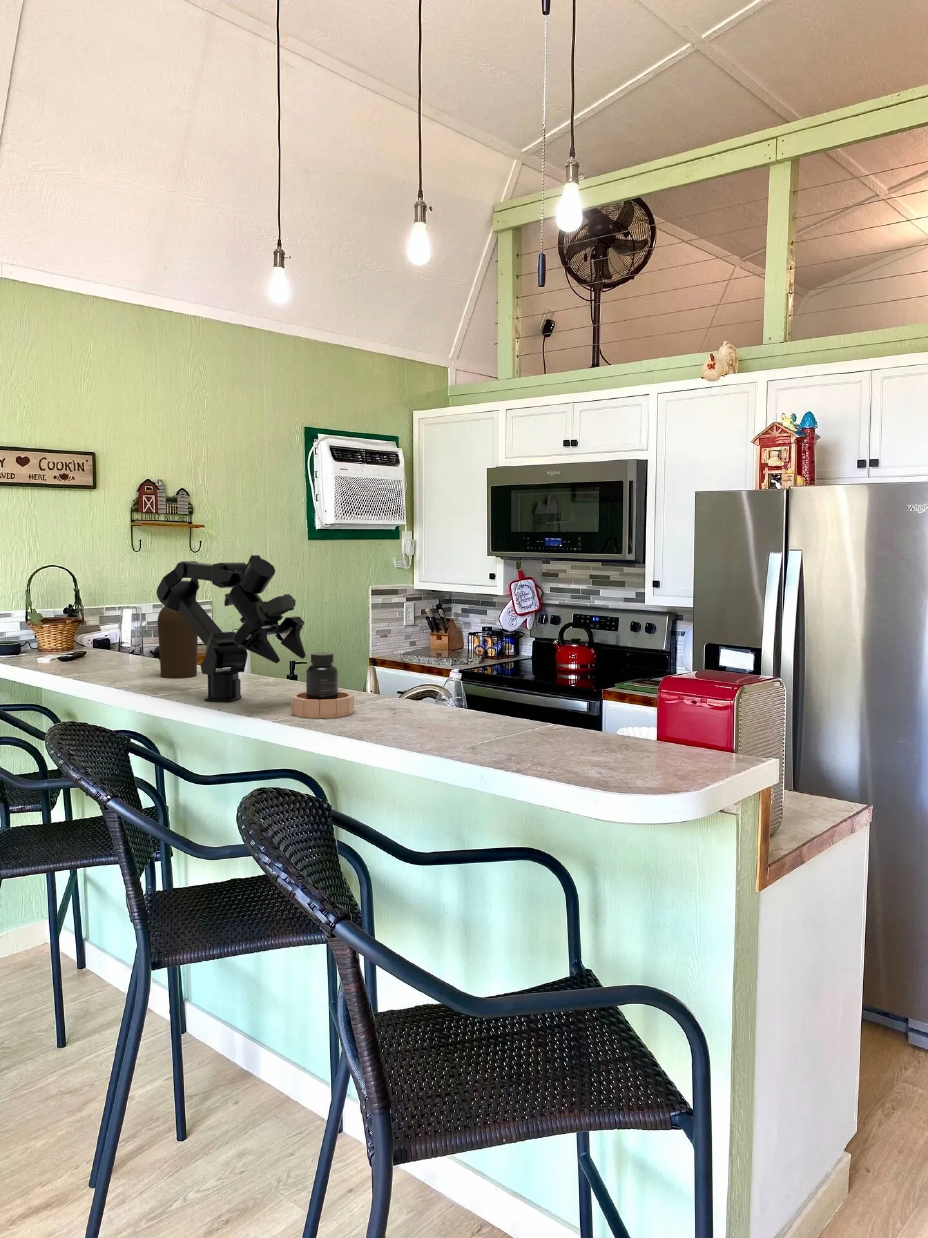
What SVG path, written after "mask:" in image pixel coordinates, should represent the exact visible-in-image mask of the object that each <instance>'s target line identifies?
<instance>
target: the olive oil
mask: <svg viewBox="0 0 928 1238" xmlns="http://www.w3.org/2000/svg"><path fill="white" fill-rule="evenodd" d="M157 633H158V634H157V635H158V648H159V649H158V650H159V655H158V662H159V665H160V666H159V668H160V669H159V670H160V677H162V678H164V679H166V678H167V679H184V678H194V677H196V676H197V673H198V670H197V669H198V643H199V642H198V640H199V639H198V638H199V637H198V635H197V634H196V633H195V632H194V630H193V629H192V628H191V627H190V625H189V624H188V623H187V622H186V621H185V619H184V618H183V617H182V616H181V614H180V613H179V612H176V611H174V610H171V609H168V608H167V607H165V606H164V605H163V607H162V608H161V609H160V611H159V613H158V616H157Z"/></svg>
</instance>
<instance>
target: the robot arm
mask: <svg viewBox="0 0 928 1238" xmlns="http://www.w3.org/2000/svg"><path fill="white" fill-rule="evenodd" d="M275 574H276V569H275V567H274V565H273V564H271V562H269V561H268V560H265V559H264V558H261V555H258V554H257V555H256V554H255V555H252V554H251V556H250V557H249V559H248V562H247V563H246V562H217V563H213V564H212V563H204V562H197V561H195V560H193V561H192V560H191V561H188V560H187V561H186V560H185V561H180V562H178V563H177V564H176V565H175V567H174V569H173V570H171V571H170V572H167V574H166V575H164V576H163V578H162V579H161V581H160V583H159V585H158V586H157V588H156V596H157V599H158V601H159V602H160V603H161V605H163V607H164V606H165V607H167V608H168V609H171V610H174V611H176V612H179V613H180V614H181V616H182V617H183V618H184V619H185V621H186V622H187V623H188V624H189V625H190V627H191V628H192V629H193V630H194V632H195V633H196V634H197V635H198V638H199V639H200V641H202V643H203V644H204V645H205V648H206V649H205V656H204V658H203V660H202V662H201V663H200V669H201V674H203V675H207V697H204V701H208V702H209V701H210V702H211V701H212V702H233V701H236V700H238V699H241V698H243V695H242V693H241V692H242V691H241V685H242V684H241V683H242V682H241V679H240V677H239V676H240V675H239V673H245V669H246V664H247V660H248V657H249V656H248V651H250V652H251V653H254V654H256V655H258V656H259V657H262V658H264V659H266V660H268V661H271V662H272V663H275V664H278V663H280V661H281V659H280V657H279V656H278V654H277V652H276V650H275V648H274V647H273V646H272V644H271V643H270V641H269V639H268V637H270V636H275V637H276V638H277V640H278V641H280V644H281V645H282V646H284V647H285V648H286V649H288V650H289V651H290V652H292V653H293V654H294V655H295V656H297V657H298V658H300V659H301V660H303V659H305V658H306V656H307V655H306V651H305V649H304V646H303V642H302V640H301V639H302V638H301V631H302V630H303V626H304V625H305V621H304V620H303V619H302V618H301V616H296V615H295V616H287V617H285V618H284V616H283V615H284V614H285V613H288V612H289V611H291V612H292V611H294V610H295V607H296V606H297V605H296V599H294V597H293V596H292V595H291V594H290V593H288V594H287V593H286V594H285V593H284V594H283V595H279V596H276V597H274V598H271V599H270V600H267V601H263V599H262V598H261V596H259V594H262V593H263V592H264V591H265V590H266V589H267V587H268V585H269V584H270V582H271V580H272V579H273V577H274V576H275ZM184 579H190V580H184ZM199 580H200V581H201V580H202V581H208V582H211V584H212V585H213V586H215V587H218V588H220V589H229V588H230V591H229V592H228V593H225V595H224V602H223V603H224V606H225V607H229V606H233V607H234V608H235V609H236V610H237V611H238V613H239V614H240V616H241V618H240V619H239V621H240V622H241V623H242V625H241V626H240V627H239V628H238V629H237V631H222V629H221V628H220V626H218V624H216V623H215V621H214V620H213V618H212V617H211V616H210V615H209V614H208V613H207V612H206V611H205V609H204V608H203V607H202V605H201V604H200V603H199V602H198V601H197V593H198V590H199V589H200V584H199V583H200V582H199ZM283 618H284V620H283V621H282V622H281V623H280V624H279V622H280V621H281V620H282V619H283Z"/></svg>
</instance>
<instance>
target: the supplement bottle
mask: <svg viewBox="0 0 928 1238" xmlns="http://www.w3.org/2000/svg"><path fill="white" fill-rule="evenodd" d="M334 662H335V660H334V653H332V652H325V651H323V652H312V653H310V663H311V665H309V666H308V667H307V668H306V672H305V674H306V675H305V681H306V682H305V685H306V686H305V692H306V699H314V700H327V699H338V691H339V670H338V667H337V666H335V665H334V664H333V663H334Z"/></svg>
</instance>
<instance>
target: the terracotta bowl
mask: <svg viewBox="0 0 928 1238" xmlns="http://www.w3.org/2000/svg"><path fill="white" fill-rule="evenodd" d="M290 700H291V701H290V704H291V705H290V706H291V707H290V708H291V709H290V710H291V715H293V716H295V717H298V718H304V719H335V718H344V717H348V716H351V715H353V714H354V709H355V695H354V694H353V693H352V692H350V691H349V692H348V691H342V690H338V699H327V700H314V699H306V691H300V692H295V693H293V694H291V695H290Z"/></svg>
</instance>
